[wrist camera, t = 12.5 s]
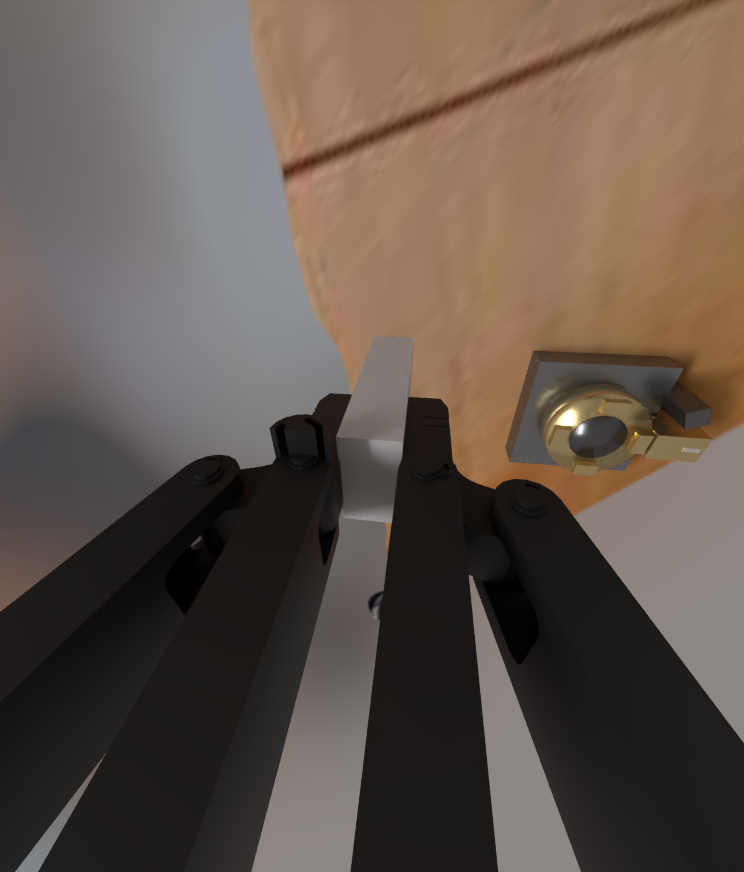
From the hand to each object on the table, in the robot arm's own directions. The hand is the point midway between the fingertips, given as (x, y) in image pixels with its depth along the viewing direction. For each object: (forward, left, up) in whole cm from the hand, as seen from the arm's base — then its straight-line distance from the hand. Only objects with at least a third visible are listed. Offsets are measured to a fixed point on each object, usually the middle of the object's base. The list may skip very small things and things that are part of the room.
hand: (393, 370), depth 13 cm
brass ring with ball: (+16, +24, -23) cm, 37 cm away
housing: (+16, +22, -26) cm, 38 cm away
